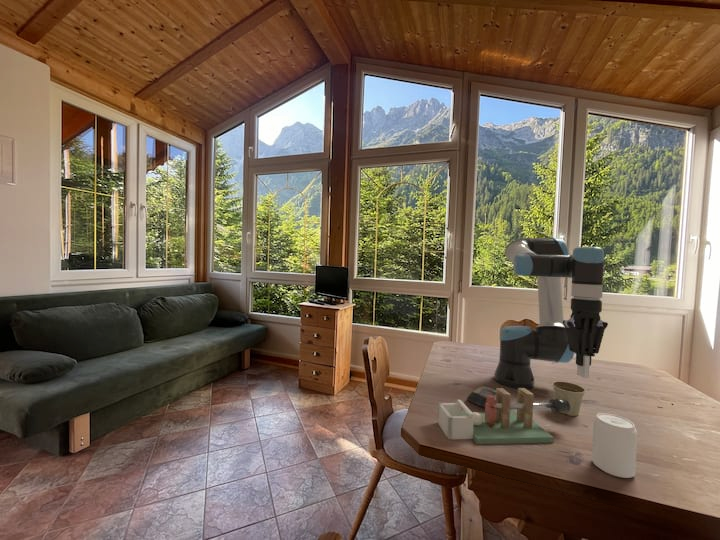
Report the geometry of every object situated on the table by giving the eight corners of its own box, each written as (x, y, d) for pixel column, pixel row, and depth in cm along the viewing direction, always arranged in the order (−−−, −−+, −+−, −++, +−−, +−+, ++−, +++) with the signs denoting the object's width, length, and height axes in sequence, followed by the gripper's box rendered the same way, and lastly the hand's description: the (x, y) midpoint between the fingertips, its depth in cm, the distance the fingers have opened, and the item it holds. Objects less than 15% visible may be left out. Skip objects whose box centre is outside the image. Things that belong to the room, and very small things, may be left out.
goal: (459, 422, 94) (460, 399, 94) (472, 438, 85) (473, 414, 85) (437, 422, 94) (438, 399, 93) (448, 439, 85) (449, 414, 84)
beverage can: (583, 458, 78) (585, 412, 78) (612, 457, 79) (615, 411, 78) (612, 481, 70) (614, 429, 70) (644, 480, 71) (647, 428, 70)
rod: (560, 418, 94) (561, 393, 94) (569, 424, 90) (570, 398, 90) (484, 419, 92) (485, 393, 92) (490, 426, 88) (491, 399, 88)
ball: (478, 421, 92) (479, 409, 92) (484, 428, 88) (485, 415, 88) (467, 421, 92) (467, 409, 91) (472, 428, 88) (473, 416, 88)
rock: (464, 405, 106) (464, 390, 106) (471, 394, 116) (471, 380, 116) (510, 417, 98) (510, 400, 98) (513, 404, 108) (513, 389, 108)
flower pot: (574, 421, 97) (575, 394, 97) (544, 408, 105) (546, 383, 105) (590, 415, 101) (591, 389, 101) (560, 403, 109) (561, 379, 109)
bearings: (522, 420, 93) (524, 387, 93) (532, 428, 89) (533, 394, 89) (494, 420, 93) (496, 388, 92) (502, 428, 88) (504, 394, 88)
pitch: (522, 416, 99) (522, 412, 98) (553, 442, 85) (553, 437, 85) (456, 417, 97) (456, 413, 97) (477, 444, 83) (477, 438, 83)
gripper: (595, 297, 96) (592, 371, 96) (556, 296, 95) (553, 371, 95) (617, 300, 89) (614, 380, 89) (575, 299, 87) (572, 380, 88)
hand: (582, 376), depth 92 cm, fingers closed
